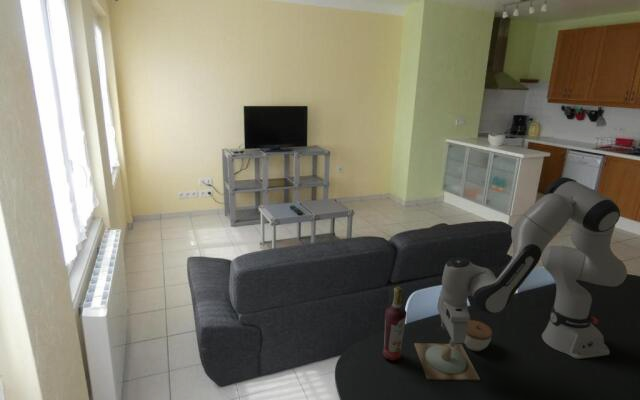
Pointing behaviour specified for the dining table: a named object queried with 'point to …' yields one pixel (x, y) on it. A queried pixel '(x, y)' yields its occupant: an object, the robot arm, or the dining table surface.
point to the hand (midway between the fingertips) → (448, 336)
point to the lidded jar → (477, 335)
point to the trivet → (437, 375)
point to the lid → (445, 359)
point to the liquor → (394, 327)
